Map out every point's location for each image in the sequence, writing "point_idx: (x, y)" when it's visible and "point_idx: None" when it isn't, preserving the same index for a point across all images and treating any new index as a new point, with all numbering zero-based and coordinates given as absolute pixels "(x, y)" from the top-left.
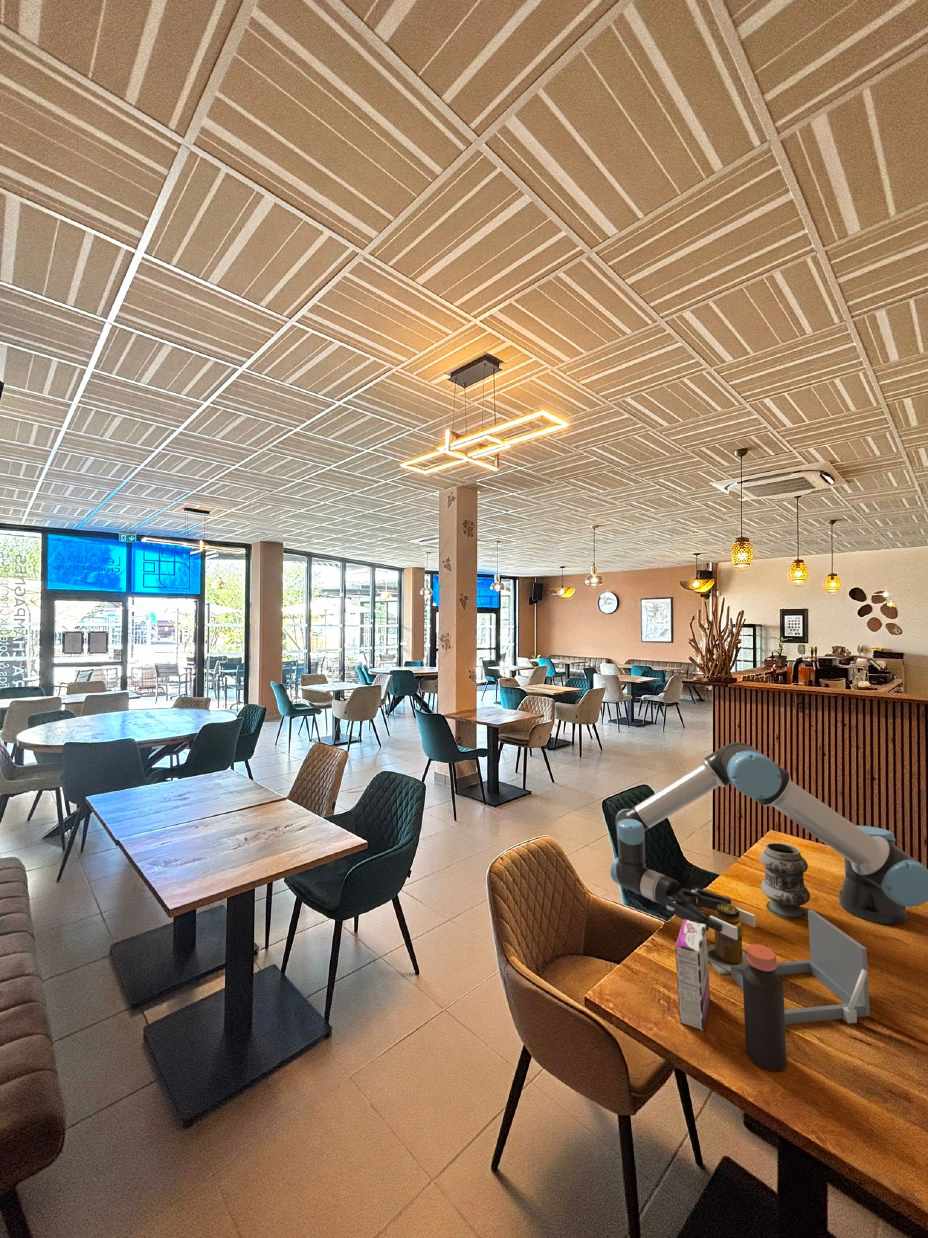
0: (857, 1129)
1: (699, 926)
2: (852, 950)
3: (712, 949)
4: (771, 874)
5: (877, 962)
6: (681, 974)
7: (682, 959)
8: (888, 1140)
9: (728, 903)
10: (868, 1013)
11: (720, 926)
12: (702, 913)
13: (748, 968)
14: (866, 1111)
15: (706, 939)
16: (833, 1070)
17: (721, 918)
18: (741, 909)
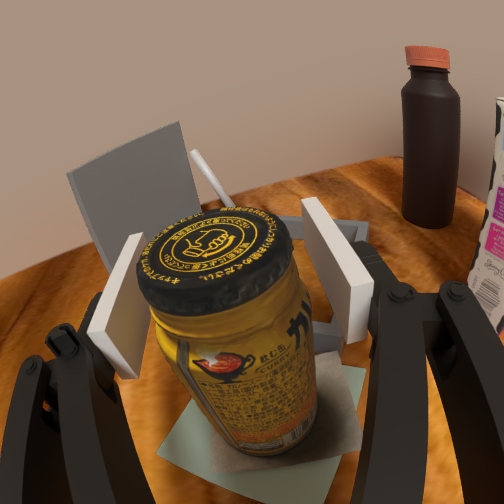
0: (388, 172)
1: None
2: (169, 142)
3: (277, 473)
4: None
5: (53, 278)
6: None
7: None
8: (370, 167)
9: (79, 337)
10: None
11: (355, 244)
12: (393, 330)
13: (448, 83)
14: (363, 176)
15: (494, 147)
16: (351, 196)
17: (295, 265)
18: (111, 273)
